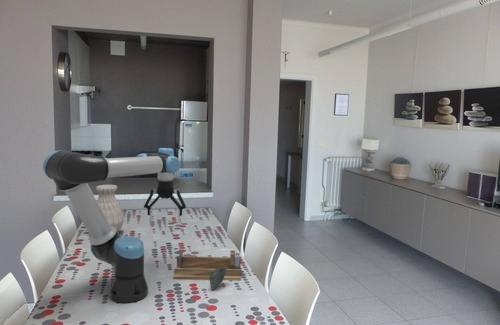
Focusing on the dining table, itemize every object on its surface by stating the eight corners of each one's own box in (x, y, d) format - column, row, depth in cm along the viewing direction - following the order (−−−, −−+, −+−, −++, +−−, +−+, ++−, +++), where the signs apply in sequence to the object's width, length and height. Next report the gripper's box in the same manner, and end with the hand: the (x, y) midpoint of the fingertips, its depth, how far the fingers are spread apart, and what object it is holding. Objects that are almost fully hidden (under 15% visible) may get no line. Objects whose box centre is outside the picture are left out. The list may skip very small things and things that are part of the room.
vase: (85, 231, 239) (84, 185, 235) (116, 226, 252) (116, 182, 248) (96, 240, 224) (96, 190, 220) (129, 233, 237) (128, 187, 234)
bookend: (181, 273, 177) (181, 254, 176) (174, 273, 177) (174, 254, 176) (182, 268, 182) (182, 251, 181) (176, 268, 182) (176, 250, 181)
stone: (223, 281, 173) (224, 260, 172) (230, 284, 170) (230, 263, 169) (207, 289, 165) (207, 267, 163) (213, 292, 162) (214, 270, 161)
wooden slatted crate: (240, 280, 175) (240, 257, 173) (173, 279, 174) (173, 255, 173) (240, 270, 187) (241, 248, 185) (177, 268, 186) (177, 246, 184)
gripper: (191, 179, 189) (190, 220, 191) (141, 177, 187) (140, 219, 189) (190, 181, 181) (189, 224, 184) (138, 180, 179) (137, 223, 181)
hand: (164, 222), depth 186 cm, fingers open, 13 cm apart
